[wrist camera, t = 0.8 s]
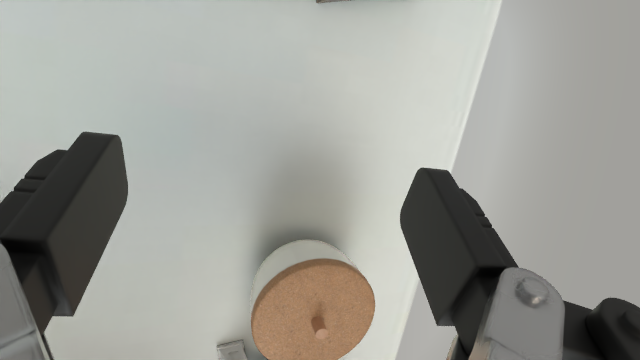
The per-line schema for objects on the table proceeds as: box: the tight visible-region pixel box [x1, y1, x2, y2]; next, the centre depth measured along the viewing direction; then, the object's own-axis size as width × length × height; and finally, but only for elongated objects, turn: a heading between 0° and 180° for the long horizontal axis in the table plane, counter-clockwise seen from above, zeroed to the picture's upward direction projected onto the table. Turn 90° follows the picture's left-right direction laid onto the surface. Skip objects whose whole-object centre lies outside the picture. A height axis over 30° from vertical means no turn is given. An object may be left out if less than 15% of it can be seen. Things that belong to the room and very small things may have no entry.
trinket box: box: [250, 240, 375, 360], centre depth 34 cm, size 11×11×9 cm
